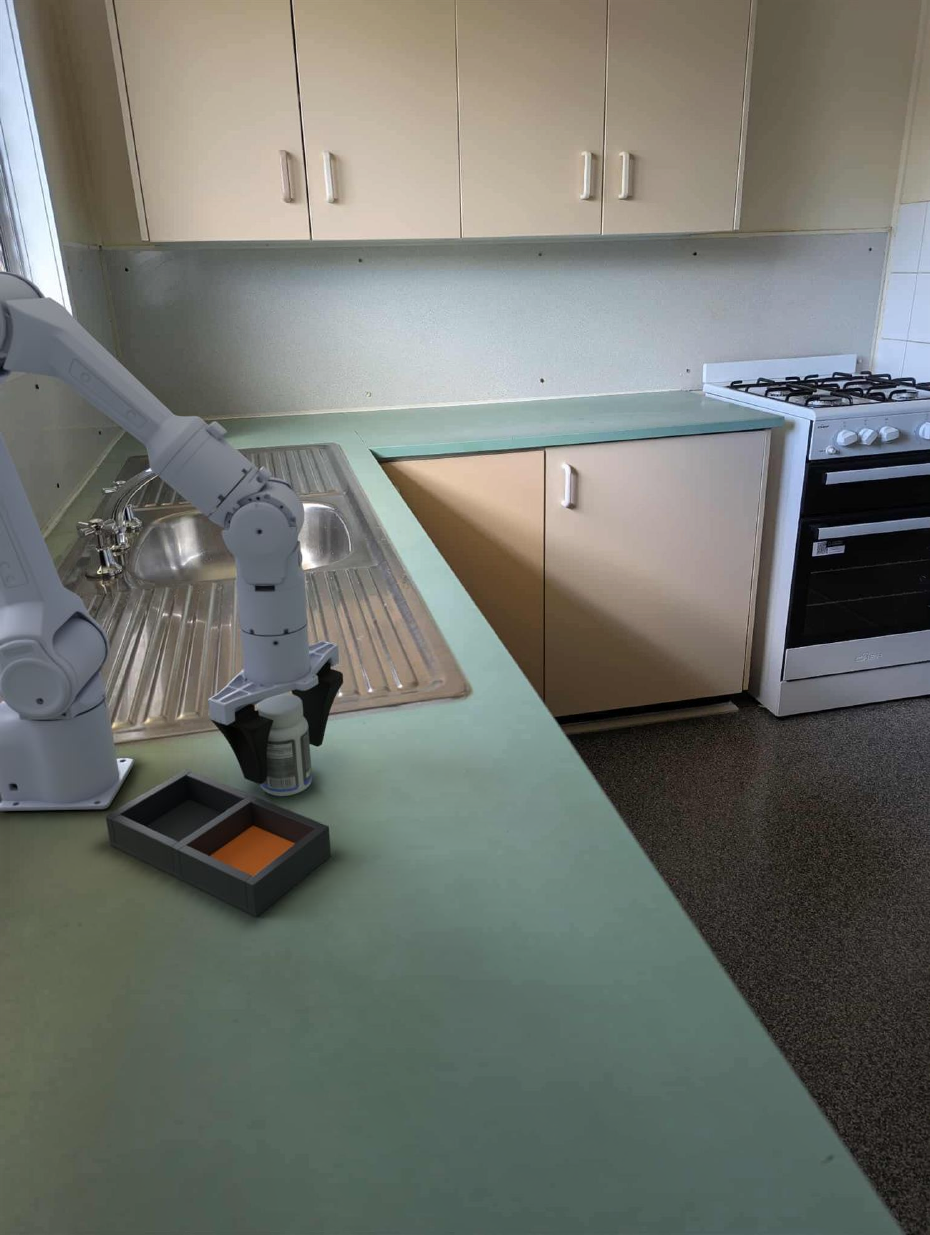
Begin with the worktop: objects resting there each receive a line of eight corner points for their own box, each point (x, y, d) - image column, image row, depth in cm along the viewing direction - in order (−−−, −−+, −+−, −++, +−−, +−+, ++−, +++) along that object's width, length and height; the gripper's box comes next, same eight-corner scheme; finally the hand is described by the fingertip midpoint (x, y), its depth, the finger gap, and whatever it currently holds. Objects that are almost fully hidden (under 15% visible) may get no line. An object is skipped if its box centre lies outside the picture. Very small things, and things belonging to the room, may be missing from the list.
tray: (110, 845, 72) (105, 815, 71) (190, 796, 79) (186, 768, 78) (256, 917, 65) (253, 885, 63) (330, 856, 71) (329, 826, 70)
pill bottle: (289, 764, 84) (283, 686, 81) (322, 781, 82) (317, 701, 79) (249, 785, 81) (241, 704, 78) (282, 803, 78) (275, 720, 75)
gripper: (247, 663, 68) (261, 812, 73) (362, 607, 79) (367, 738, 84) (183, 644, 71) (201, 787, 76) (302, 592, 83) (311, 720, 88)
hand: (284, 760), depth 80 cm, fingers open, 7 cm apart
